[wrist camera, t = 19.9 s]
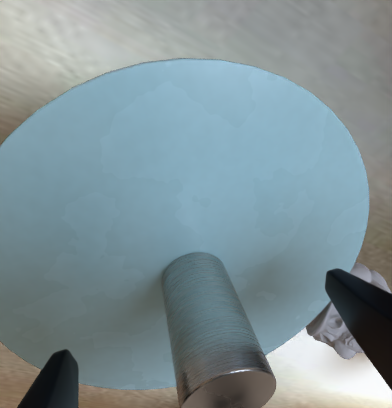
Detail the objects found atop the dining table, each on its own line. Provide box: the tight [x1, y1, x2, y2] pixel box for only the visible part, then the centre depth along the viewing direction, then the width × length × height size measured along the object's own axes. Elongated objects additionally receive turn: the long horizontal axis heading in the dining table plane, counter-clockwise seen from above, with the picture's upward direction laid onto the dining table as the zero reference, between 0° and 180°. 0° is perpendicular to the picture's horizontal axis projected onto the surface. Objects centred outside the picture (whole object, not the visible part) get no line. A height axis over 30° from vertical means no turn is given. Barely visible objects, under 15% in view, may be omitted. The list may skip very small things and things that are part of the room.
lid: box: [0, 58, 369, 408], centre depth 9 cm, size 15×15×6 cm
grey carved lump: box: [306, 262, 392, 359], centre depth 19 cm, size 6×7×7 cm
